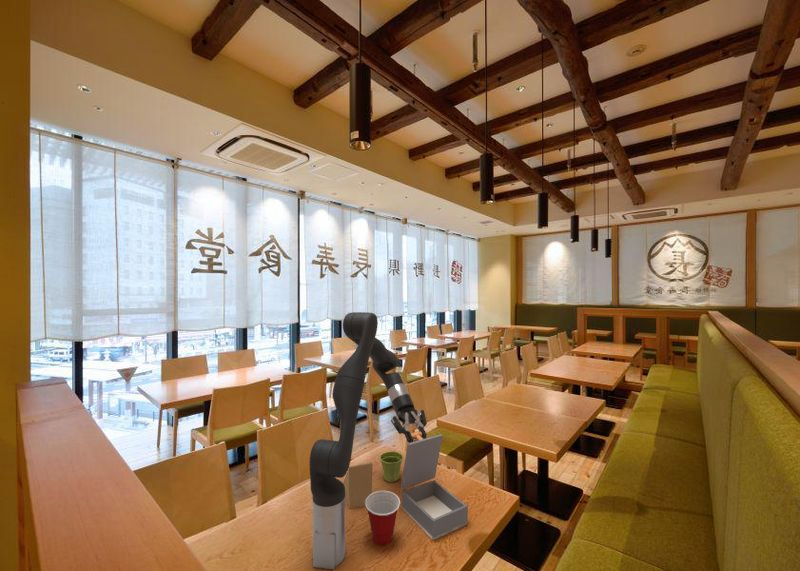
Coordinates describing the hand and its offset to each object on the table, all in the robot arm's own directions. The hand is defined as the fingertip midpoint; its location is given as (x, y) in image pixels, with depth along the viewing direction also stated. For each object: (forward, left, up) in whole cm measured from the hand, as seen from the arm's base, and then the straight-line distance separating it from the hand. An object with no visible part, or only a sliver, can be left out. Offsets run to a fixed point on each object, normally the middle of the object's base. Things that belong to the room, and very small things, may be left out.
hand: (418, 440), depth 129 cm
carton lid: (-2, -2, -7) cm, 7 cm away
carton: (-7, -6, -22) cm, 24 cm away
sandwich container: (+1, +23, -23) cm, 32 cm away
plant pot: (+14, +12, -22) cm, 29 cm away
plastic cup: (-20, +9, -22) cm, 31 cm away
